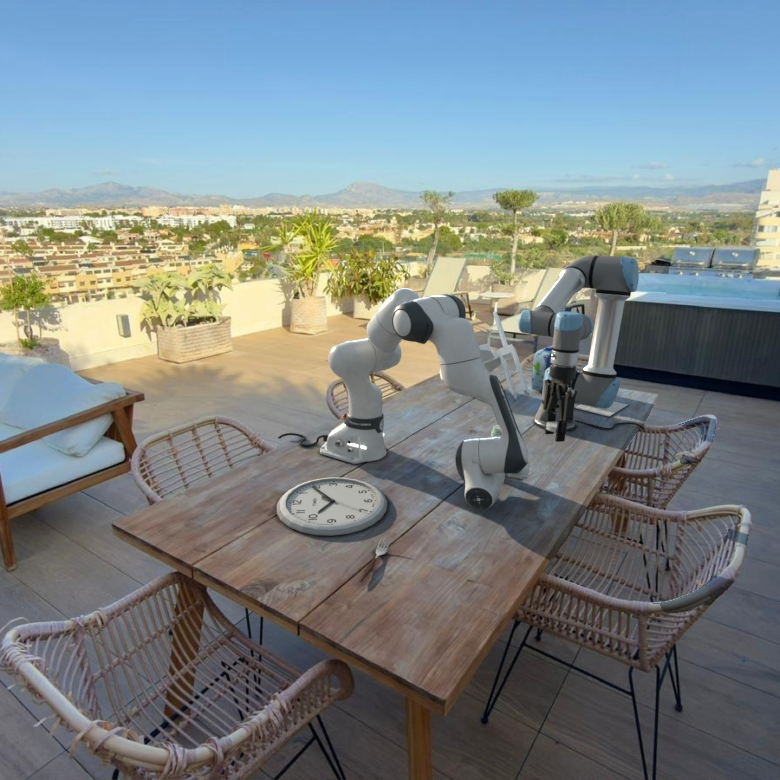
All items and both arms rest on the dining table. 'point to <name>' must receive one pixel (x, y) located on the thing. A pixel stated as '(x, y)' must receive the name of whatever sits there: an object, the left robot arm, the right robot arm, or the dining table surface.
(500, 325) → the white plastic object
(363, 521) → the wall clock
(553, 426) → the lid
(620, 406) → the invitation card
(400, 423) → the dining table surface
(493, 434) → the jar
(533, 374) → the lunch box
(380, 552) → the fork
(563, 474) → the dining table surface
